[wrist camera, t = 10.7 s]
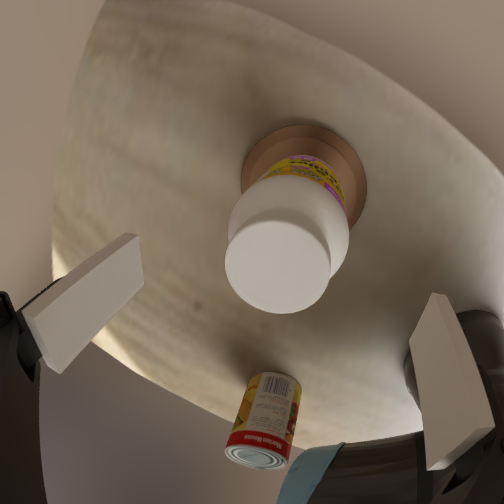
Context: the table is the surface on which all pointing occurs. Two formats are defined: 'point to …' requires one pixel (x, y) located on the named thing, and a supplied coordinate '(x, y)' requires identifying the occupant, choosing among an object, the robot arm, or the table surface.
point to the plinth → (315, 145)
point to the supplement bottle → (287, 236)
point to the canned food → (265, 422)
